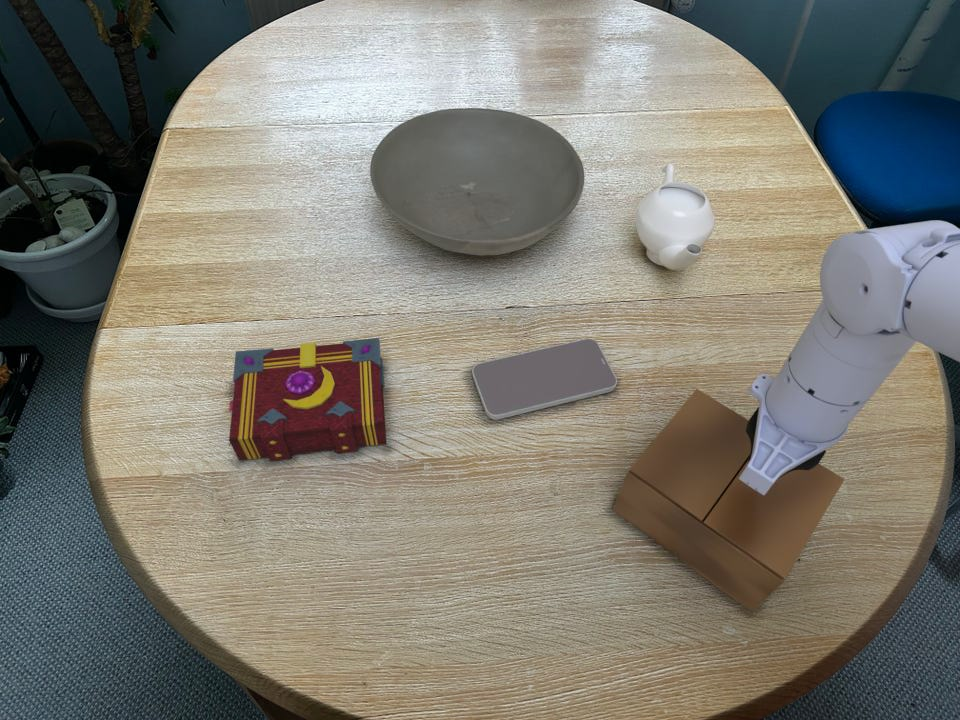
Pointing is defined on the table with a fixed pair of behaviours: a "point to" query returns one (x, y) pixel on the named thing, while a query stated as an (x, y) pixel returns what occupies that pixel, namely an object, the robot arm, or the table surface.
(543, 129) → the bowl
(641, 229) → the teapot
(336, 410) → the decorative book
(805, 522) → the flap
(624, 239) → the table surface
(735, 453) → the carton
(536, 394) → the smartphone
